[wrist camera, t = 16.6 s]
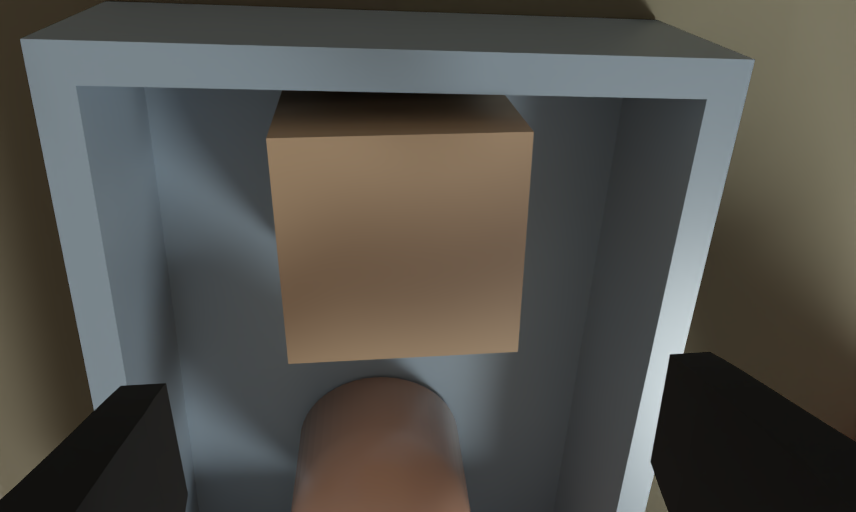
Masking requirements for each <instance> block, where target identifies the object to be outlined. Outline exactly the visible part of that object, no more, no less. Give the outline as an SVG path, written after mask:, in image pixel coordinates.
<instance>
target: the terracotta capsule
mask: <svg viewBox="0 0 856 512" xmlns="http://www.w3.org/2000/svg"><path fill="white" fill-rule="evenodd" d="M291 512H470V505H469V499H468V493H467V486H466V480H465V473H464V467H463V461H462V454H461V448H460V441H459V435H458V429H457V424H456V421H455V418H454V416H453V414H452V412H451V410H450V409H449V407H448V406H447V404H446V403H445V402H444V401H443V400H442V399H441V398H440V397H439V396H437V395H436V394H435V393H434V392H432V391H430V390H429V389H427V388H426V387H423V386H421V385H419V384H417V383H414V382H411V381H408V380H403V379H399V378H390V377H372V378H364V379H360V380H355V381H352V382H349V383H346V384H343V385H341V386H339V387H337V388H335V389H333V390H332V391H330V392H328V393H327V394H325V395H324V396H323V397H322V398H321V399H319V400H318V401H317V402H316V403H315V405H314V406H313V407H312V408H311V410H310V411H309V412H308V414H307V416H306V418H305V420H304V422H303V425H302V429H301V435H300V443H299V451H298V459H297V467H296V475H295V483H294V491H293V499H292V507H291Z"/></svg>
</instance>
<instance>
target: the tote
mask: <svg viewBox="0 0 856 512" xmlns="http://www.w3.org/2000/svg"><path fill="white" fill-rule="evenodd" d="M20 42H21V47H22V52H23V57H24V62H25V67H26V72H27V77H28V82H29V87H30V92H31V97H32V102H33V107H34V112H35V117H36V122H37V127H38V132H39V137H40V142H41V147H42V152H43V157H44V162H45V167H46V172H47V177H48V182H49V187H50V192H51V197H52V202H53V207H54V212H55V217H56V222H57V227H58V232H59V237H60V242H61V247H62V252H63V257H64V262H65V267H66V272H67V277H68V282H69V287H70V292H71V297H72V302H73V307H74V312H75V317H76V322H77V327H78V332H79V337H80V342H81V347H82V352H83V357H84V362H85V367H86V372H87V377H88V382H89V387H90V392H91V397H92V402H93V407H94V410H95V409H97V408H98V407H99V406H100V405H101V404H102V403H103V402H104V401H105V400H106V399H107V398H108V397H109V396H110V395H111V394H112V393H113V392H114V391H115V390H117V389H118V388H119V387H120V386H124V385H142V384H159V383H166V385H167V390H168V395H169V401H170V406H171V411H172V416H173V421H174V426H175V431H176V436H177V441H178V446H179V451H180V456H181V461H182V466H183V471H184V476H185V481H186V486H187V491H188V498H187V504H186V511H185V512H291V507H292V499H293V491H294V483H295V475H296V467H297V459H298V451H299V443H300V435H301V429H302V425H303V422H304V420H305V418H306V416H307V414H308V412H309V411H310V410H311V408H312V407H313V406H314V405H315V403H316V402H317V401H318V400H319V399H321V398H322V397H323V396H324V395H325V394H327V393H328V392H330V391H332V390H333V389H335V388H337V387H339V386H341V385H343V384H346V383H349V382H352V381H355V380H360V379H364V378H372V377H390V378H399V379H403V380H408V381H411V382H414V383H417V384H419V385H421V386H423V387H426V388H427V389H429V390H430V391H432V392H434V393H435V394H436V395H437V396H439V397H440V398H441V399H442V400H443V401H444V402H445V403H446V404H447V406H448V407H449V409H450V410H451V412H452V414H453V416H454V418H455V421H456V424H457V429H458V435H459V441H460V448H461V454H462V461H463V467H464V473H465V480H466V486H467V493H468V499H469V505H470V512H645V509H646V505H647V501H648V497H649V493H650V488H651V484H652V480H653V476H654V471H653V468H652V465H651V462H650V461H651V455H652V450H653V444H654V439H655V433H656V428H657V423H658V417H659V412H660V406H661V401H662V395H663V390H664V384H665V379H666V373H667V368H668V362H669V357H670V354H683V353H684V349H685V345H686V341H687V337H688V332H689V328H690V324H691V320H692V316H693V312H694V308H695V304H696V300H697V295H698V291H699V287H700V283H701V279H702V275H703V271H704V267H705V263H706V259H707V254H708V250H709V246H710V242H711V238H712V234H713V230H714V226H715V222H716V217H717V213H718V209H719V205H720V201H721V197H722V193H723V189H724V185H725V180H726V176H727V172H728V168H729V164H730V160H731V156H732V152H733V148H734V144H735V139H736V135H737V131H738V127H739V123H740V119H741V115H742V111H743V107H744V102H745V98H746V94H747V90H748V86H749V82H750V78H751V74H752V70H753V66H754V61H755V59H752V58H750V57H747V56H745V55H742V54H740V53H737V52H735V51H732V50H730V49H727V48H725V47H723V46H720V45H718V44H715V43H713V42H710V41H708V40H705V39H703V38H700V37H698V36H695V35H693V34H691V33H688V32H686V31H683V30H681V29H678V28H676V27H673V26H671V25H668V24H666V23H663V22H661V21H658V20H643V19H614V18H584V17H555V16H526V15H496V14H467V13H438V12H409V11H379V10H350V9H321V8H291V7H262V6H233V5H203V4H174V3H145V2H116V1H105V2H102V3H100V4H98V5H96V6H93V7H91V8H89V9H87V10H84V11H82V12H80V13H77V14H75V15H73V16H71V17H68V18H66V19H64V20H62V21H59V22H57V23H55V24H52V25H50V26H48V27H46V28H43V29H41V30H39V31H37V32H34V33H32V34H30V35H27V36H25V37H23V38H21V39H20ZM282 90H299V91H345V92H391V93H437V94H483V95H505V96H506V97H507V98H508V99H509V101H510V102H511V103H512V105H513V106H514V107H515V108H516V110H517V111H518V112H519V113H520V115H521V116H522V117H523V119H524V120H525V121H526V122H527V124H528V125H529V126H530V127H531V129H532V130H533V131H534V137H533V150H532V164H531V178H530V191H529V205H528V219H527V233H526V246H525V260H524V274H523V288H522V301H521V315H520V329H519V343H518V352H506V353H487V354H468V355H449V356H430V357H411V358H392V359H373V360H354V361H335V362H316V363H297V364H288V356H287V345H286V335H285V325H284V315H283V305H282V295H281V285H280V275H279V265H278V255H277V245H276V234H275V224H274V214H273V204H272V194H271V184H270V174H269V164H268V154H267V144H266V137H267V134H268V131H269V128H270V125H271V122H272V119H273V116H274V113H275V110H276V107H277V104H278V101H279V98H280V95H281V92H282Z"/></svg>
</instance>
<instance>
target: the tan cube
mask: <svg viewBox="0 0 856 512" xmlns="http://www.w3.org/2000/svg"><path fill="white" fill-rule="evenodd" d="M533 137H534V131H533V130H532V129H531V127H530V126H529V125H528V124H527V122H526V121H525V120H524V119H523V117H522V116H521V115H520V113H519V112H518V111H517V110H516V108H515V107H514V106H513V105H512V103H511V102H510V101H509V99H508V98H507V97H506V96H505V95H483V94H437V93H391V92H345V91H299V90H282V92H281V95H280V98H279V101H278V104H277V107H276V110H275V113H274V116H273V119H272V122H271V125H270V128H269V131H268V134H267V137H266V144H267V154H268V164H269V174H270V184H271V194H272V204H273V214H274V224H275V234H276V245H277V255H278V265H279V275H280V285H281V295H282V305H283V315H284V325H285V335H286V345H287V356H288V364H297V363H316V362H335V361H354V360H373V359H392V358H411V357H430V356H449V355H468V354H487V353H506V352H518V343H519V329H520V315H521V301H522V288H523V274H524V260H525V246H526V233H527V219H528V205H529V191H530V178H531V164H532V150H533Z"/></svg>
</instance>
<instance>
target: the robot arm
mask: <svg viewBox="0 0 856 512" xmlns="http://www.w3.org/2000/svg"><path fill="white" fill-rule="evenodd" d="M650 462H651V465H652V468H653V471H654V473H655V476H656V479H657V482H658V485H659V488H660V490H661V493H662V496H663V499H664V501H665V504H666V506H667V509H668V511H669V512H856V442H855V441H853V440H851V439H850V438H848V437H847V436H845V435H843V434H842V433H840V432H838V431H837V430H835V429H834V428H832V427H830V426H829V425H827V424H826V423H824V422H822V421H821V420H819V419H818V418H816V417H814V416H813V415H811V414H810V413H808V412H806V411H805V410H803V409H802V408H800V407H799V406H797V405H795V404H794V403H792V402H791V401H789V400H788V399H786V398H784V397H783V396H781V395H780V394H778V393H777V392H775V391H774V390H772V389H770V388H769V387H767V386H766V385H764V384H763V383H761V382H759V381H758V380H756V379H755V378H753V377H751V376H750V375H748V374H747V373H745V372H744V371H742V370H740V369H739V368H737V367H735V366H734V365H732V364H730V363H729V362H727V361H725V360H724V359H722V358H720V357H718V356H716V355H715V354H713V353H711V352H702V353H684V354H670V357H669V362H668V368H667V373H666V379H665V384H664V390H663V395H662V401H661V406H660V412H659V417H658V423H657V428H656V433H655V439H654V444H653V450H652V455H651V461H650ZM187 498H188V491H187V486H186V481H185V476H184V471H183V466H182V461H181V456H180V451H179V446H178V441H177V436H176V431H175V426H174V421H173V416H172V411H171V406H170V401H169V395H168V390H167V385H166V383H159V384H142V385H124V386H120V387H119V388H118V389H117V390H115V391H114V392H113V393H112V394H111V395H110V396H109V397H108V398H107V399H106V400H105V401H104V402H103V403H102V404H101V405H100V406H99V407H98V408H97V409H95V410H94V411H93V412H92V413H91V414H90V415H89V416H88V417H87V418H86V419H85V420H84V421H83V422H82V423H81V424H80V425H79V426H78V427H77V428H76V429H75V430H74V431H73V432H72V433H71V434H70V435H69V436H68V437H67V438H66V439H65V440H64V441H63V442H62V443H61V444H60V445H59V446H58V447H56V448H55V449H54V450H53V451H52V452H51V453H50V454H49V455H48V456H47V457H46V458H45V459H44V460H43V461H42V462H41V463H40V464H38V465H37V466H36V467H35V468H34V469H33V470H32V471H31V472H30V473H29V474H28V475H27V476H26V477H25V478H24V479H23V480H22V481H20V482H19V483H18V484H17V485H16V486H15V487H14V488H13V489H12V490H11V491H10V492H9V493H7V494H6V495H5V496H4V497H3V498H2V499H0V512H185V511H186V504H187Z"/></svg>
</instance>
